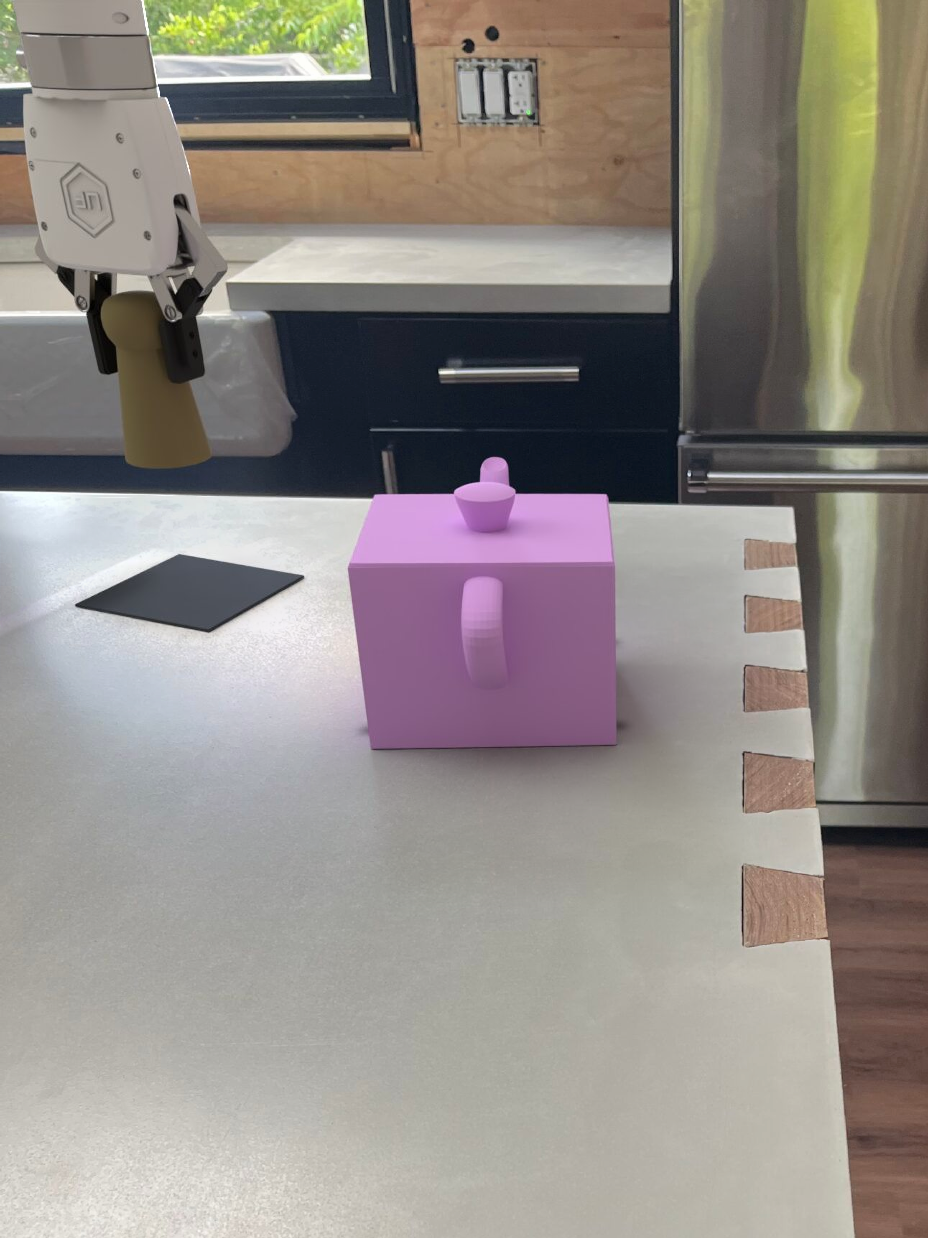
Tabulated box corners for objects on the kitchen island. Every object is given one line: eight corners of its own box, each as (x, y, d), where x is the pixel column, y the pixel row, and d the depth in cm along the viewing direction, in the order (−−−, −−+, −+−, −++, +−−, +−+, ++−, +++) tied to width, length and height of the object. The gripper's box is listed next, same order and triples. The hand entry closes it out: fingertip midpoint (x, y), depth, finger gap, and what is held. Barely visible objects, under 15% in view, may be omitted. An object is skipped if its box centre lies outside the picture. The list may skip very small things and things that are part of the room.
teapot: (606, 621, 99) (604, 428, 91) (619, 782, 78) (617, 552, 70) (402, 623, 97) (381, 427, 89) (361, 787, 77) (329, 553, 69)
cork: (126, 448, 98) (90, 286, 91) (211, 443, 99) (182, 283, 93) (124, 471, 93) (87, 302, 87) (213, 465, 95) (183, 299, 88)
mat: (75, 606, 99) (74, 604, 98) (179, 556, 108) (179, 553, 108) (208, 632, 95) (208, 629, 95) (304, 577, 105) (304, 575, 104)
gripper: (-62, 66, 82) (17, 374, 92) (165, 77, 77) (221, 400, 88) (27, 63, 88) (91, 353, 98) (243, 73, 83) (287, 376, 93)
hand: (152, 372), depth 93 cm, fingers closed on cork, 5 cm apart
